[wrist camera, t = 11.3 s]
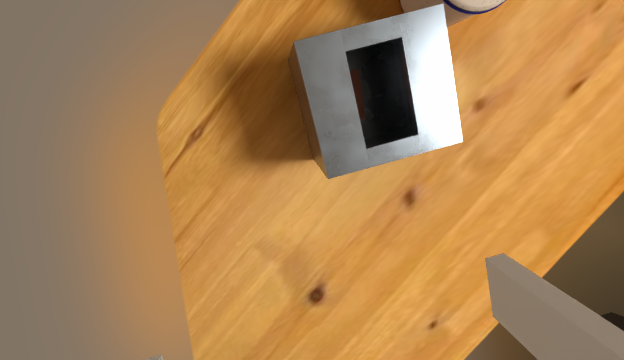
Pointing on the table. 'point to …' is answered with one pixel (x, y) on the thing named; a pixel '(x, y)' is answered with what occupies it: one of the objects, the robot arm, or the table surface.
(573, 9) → the table surface
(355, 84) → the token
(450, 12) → the teacup with lid
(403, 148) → the grey hollow block
